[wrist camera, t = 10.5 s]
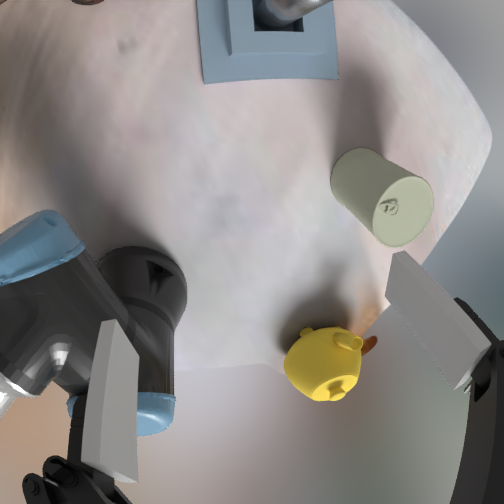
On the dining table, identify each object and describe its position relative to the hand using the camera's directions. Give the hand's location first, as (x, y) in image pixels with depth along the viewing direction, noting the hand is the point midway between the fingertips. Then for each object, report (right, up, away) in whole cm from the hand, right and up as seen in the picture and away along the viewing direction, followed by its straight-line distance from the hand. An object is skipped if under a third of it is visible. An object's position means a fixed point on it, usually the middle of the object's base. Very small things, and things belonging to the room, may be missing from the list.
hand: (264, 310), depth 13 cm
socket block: (+1, +29, +12) cm, 32 cm away
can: (+15, +13, +26) cm, 33 cm away
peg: (+2, +29, +11) cm, 31 cm away
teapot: (+13, -14, +43) cm, 47 cm away
